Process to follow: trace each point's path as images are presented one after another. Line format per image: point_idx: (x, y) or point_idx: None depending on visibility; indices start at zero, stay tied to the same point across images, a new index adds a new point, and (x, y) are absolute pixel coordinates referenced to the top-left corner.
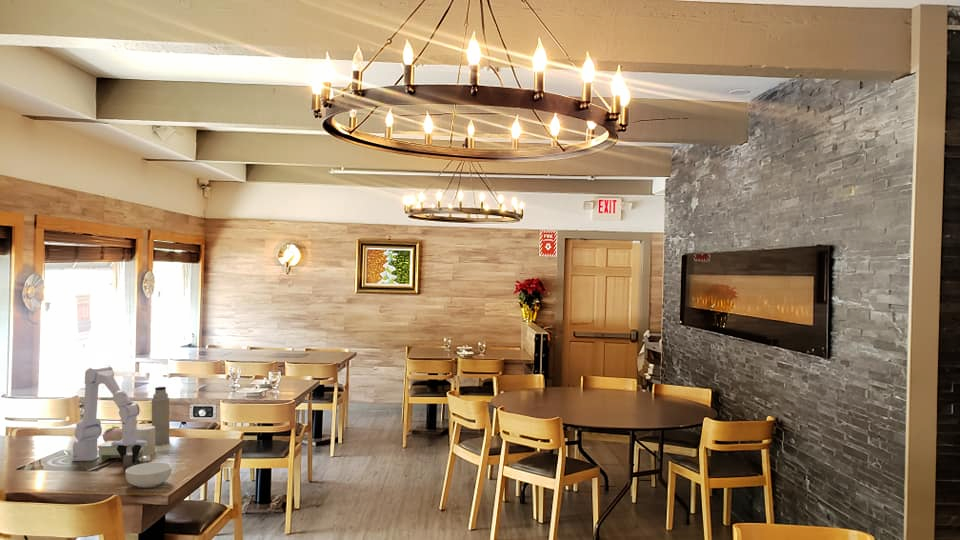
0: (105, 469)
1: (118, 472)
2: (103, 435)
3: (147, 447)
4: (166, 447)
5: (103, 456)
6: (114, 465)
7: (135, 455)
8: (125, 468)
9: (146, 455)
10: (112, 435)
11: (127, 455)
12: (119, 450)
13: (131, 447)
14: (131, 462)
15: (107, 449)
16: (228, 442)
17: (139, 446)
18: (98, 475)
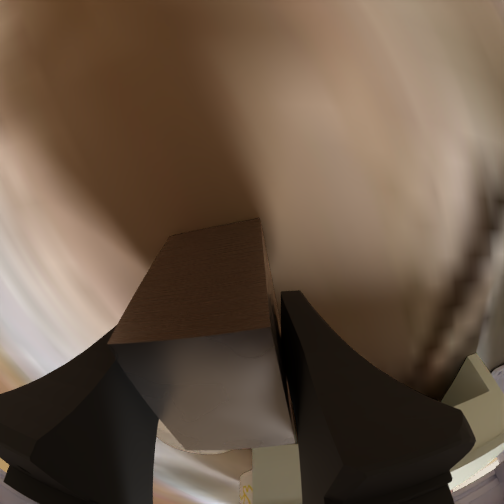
0: (435, 214)
1: (252, 89)
2: (452, 490)
3: None
4: (232, 499)
5: (469, 397)
6: (391, 328)
7: (84, 352)
8: (235, 224)
9: (198, 450)
10: None
11: (183, 334)
12: (397, 418)
13: (293, 502)
14: (154, 270)
15: (476, 434)
16: None
17: (16, 470)
18: (411, 12)
